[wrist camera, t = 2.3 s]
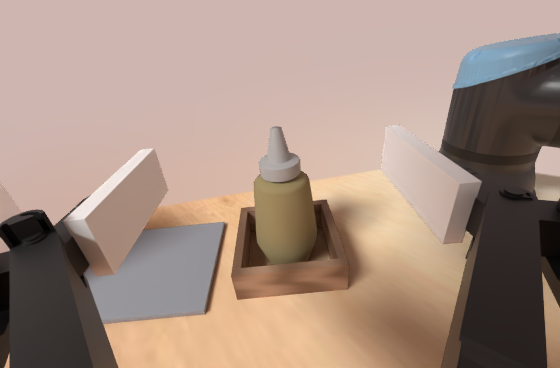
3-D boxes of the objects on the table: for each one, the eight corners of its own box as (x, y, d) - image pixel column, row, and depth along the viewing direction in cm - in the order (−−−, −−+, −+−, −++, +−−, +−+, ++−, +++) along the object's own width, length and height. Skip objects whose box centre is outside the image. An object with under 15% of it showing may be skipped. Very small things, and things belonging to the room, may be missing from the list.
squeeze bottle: (263, 235, 41) (244, 119, 32) (316, 233, 40) (312, 114, 31) (255, 278, 34) (229, 145, 25) (320, 277, 33) (317, 139, 24)
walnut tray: (326, 220, 43) (326, 199, 41) (347, 289, 31) (349, 264, 29) (245, 228, 43) (241, 208, 41) (237, 299, 31) (231, 275, 29)
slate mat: (224, 224, 44) (224, 221, 44) (205, 314, 30) (203, 310, 30) (116, 235, 44) (115, 232, 44) (47, 328, 30) (44, 325, 30)
